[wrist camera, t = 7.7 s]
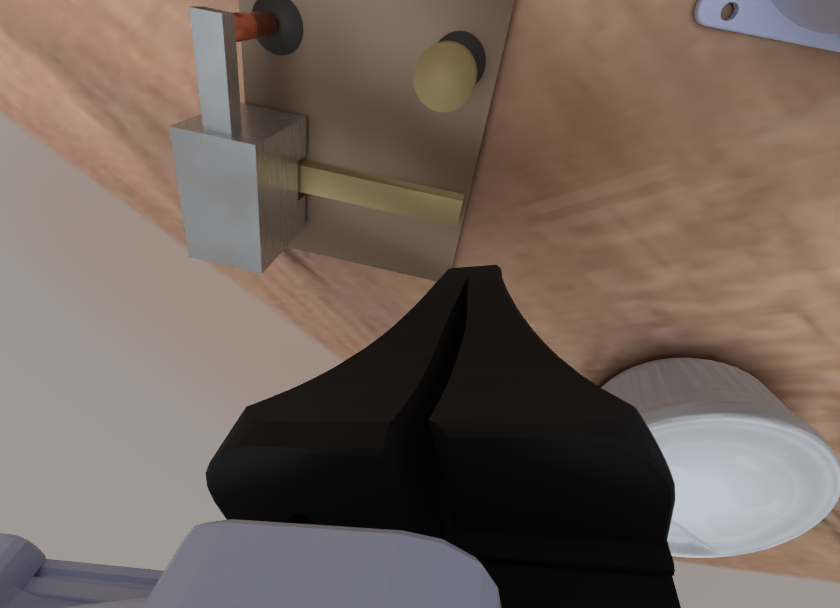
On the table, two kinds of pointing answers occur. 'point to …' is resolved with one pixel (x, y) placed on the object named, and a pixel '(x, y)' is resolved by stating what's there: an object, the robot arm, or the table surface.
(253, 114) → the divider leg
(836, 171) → the table surface
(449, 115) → the board
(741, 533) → the ramekin
